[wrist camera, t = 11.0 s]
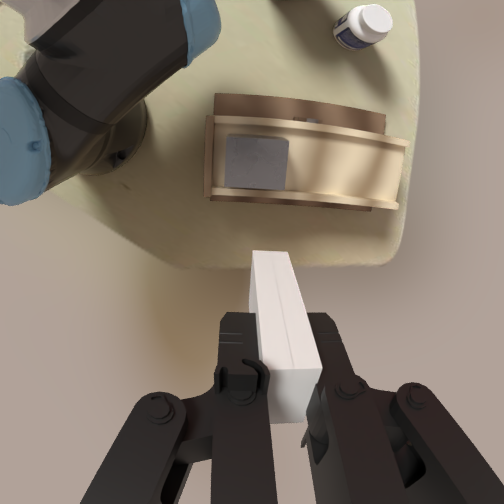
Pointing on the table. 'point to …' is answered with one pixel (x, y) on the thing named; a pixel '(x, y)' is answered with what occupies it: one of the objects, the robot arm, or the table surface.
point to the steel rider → (256, 161)
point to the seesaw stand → (296, 112)
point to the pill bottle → (362, 27)
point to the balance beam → (313, 161)
